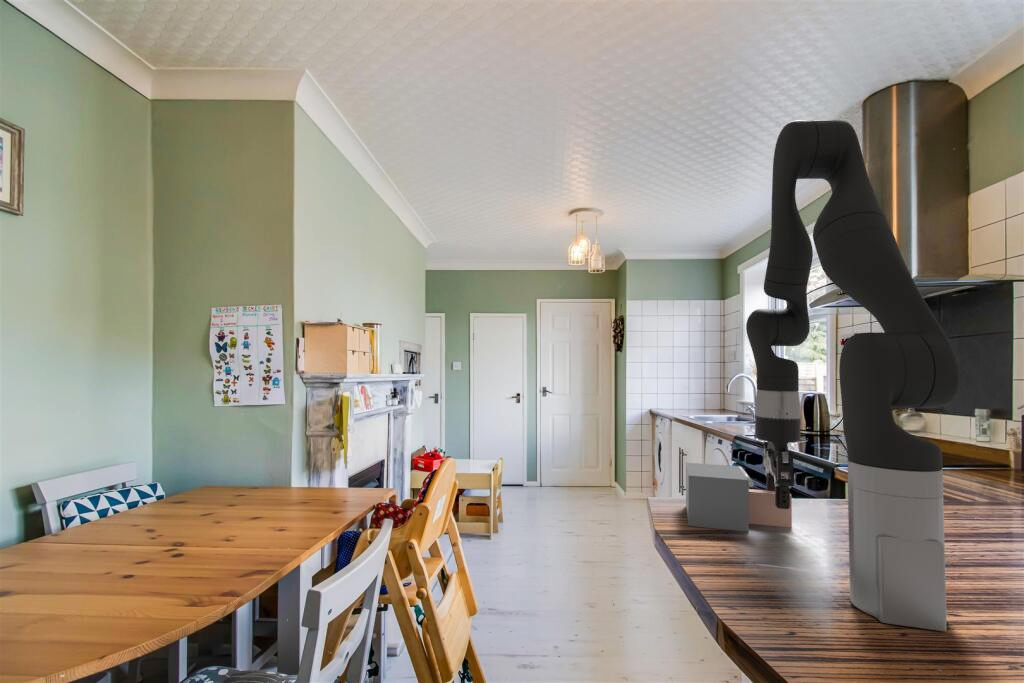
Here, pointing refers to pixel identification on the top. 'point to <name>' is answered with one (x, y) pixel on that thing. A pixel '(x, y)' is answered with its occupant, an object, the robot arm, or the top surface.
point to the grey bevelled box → (717, 496)
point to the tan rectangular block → (768, 509)
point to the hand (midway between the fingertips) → (777, 502)
